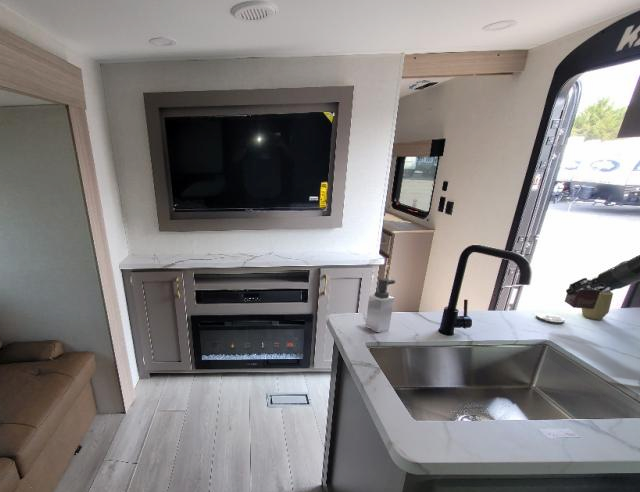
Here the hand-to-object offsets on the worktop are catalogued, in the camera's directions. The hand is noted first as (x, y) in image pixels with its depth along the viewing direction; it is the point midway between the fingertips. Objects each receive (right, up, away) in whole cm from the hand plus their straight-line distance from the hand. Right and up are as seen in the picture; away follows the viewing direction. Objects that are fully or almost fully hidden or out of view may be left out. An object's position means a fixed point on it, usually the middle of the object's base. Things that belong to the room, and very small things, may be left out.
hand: (579, 292), depth 120 cm
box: (0, -5, 0) cm, 5 cm away
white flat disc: (+7, -12, +19) cm, 24 cm away
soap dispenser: (-66, -15, +17) cm, 70 cm away
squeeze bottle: (+26, -11, +20) cm, 35 cm away
